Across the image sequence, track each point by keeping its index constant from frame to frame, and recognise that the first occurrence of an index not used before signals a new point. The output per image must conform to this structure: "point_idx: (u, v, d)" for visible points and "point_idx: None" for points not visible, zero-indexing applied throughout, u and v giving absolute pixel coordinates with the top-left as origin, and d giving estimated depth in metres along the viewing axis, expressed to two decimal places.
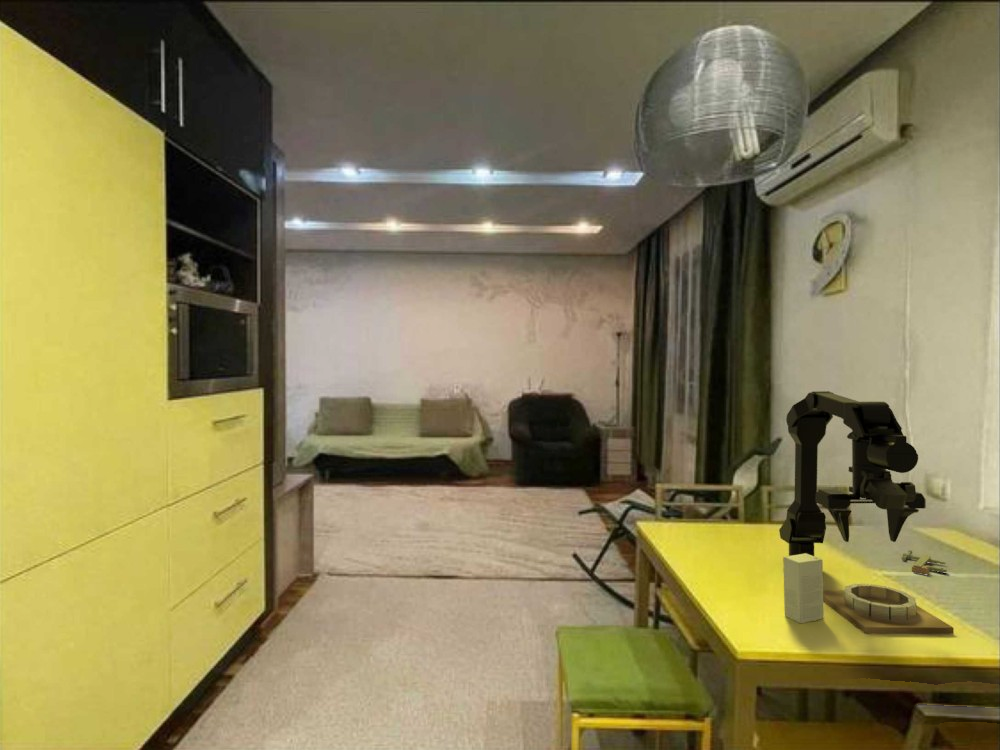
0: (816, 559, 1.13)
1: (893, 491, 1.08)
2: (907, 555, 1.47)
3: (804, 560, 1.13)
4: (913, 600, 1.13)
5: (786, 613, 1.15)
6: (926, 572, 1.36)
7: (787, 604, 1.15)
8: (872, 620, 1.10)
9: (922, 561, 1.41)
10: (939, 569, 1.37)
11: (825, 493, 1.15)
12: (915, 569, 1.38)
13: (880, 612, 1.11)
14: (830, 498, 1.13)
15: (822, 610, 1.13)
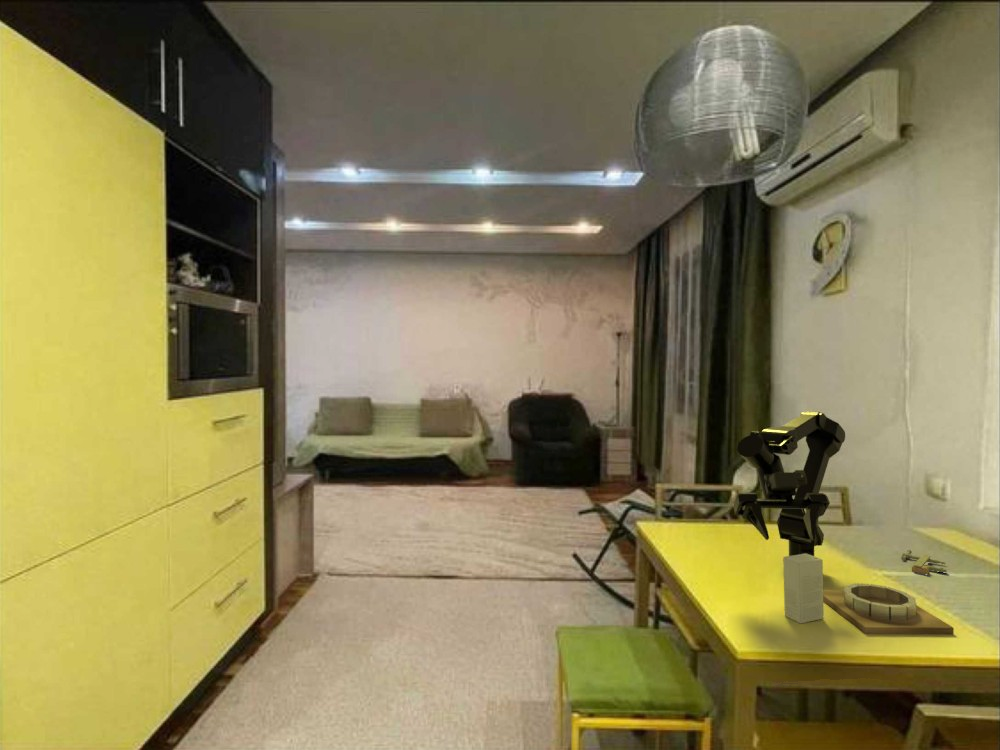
0: (816, 559, 1.13)
1: None
2: (906, 555, 1.47)
3: (804, 560, 1.13)
4: (913, 600, 1.13)
5: (786, 613, 1.15)
6: (926, 572, 1.36)
7: (787, 604, 1.15)
8: (872, 620, 1.10)
9: (922, 561, 1.41)
10: (939, 569, 1.37)
11: None
12: (915, 569, 1.38)
13: (880, 612, 1.11)
14: (739, 494, 1.27)
15: (822, 610, 1.13)
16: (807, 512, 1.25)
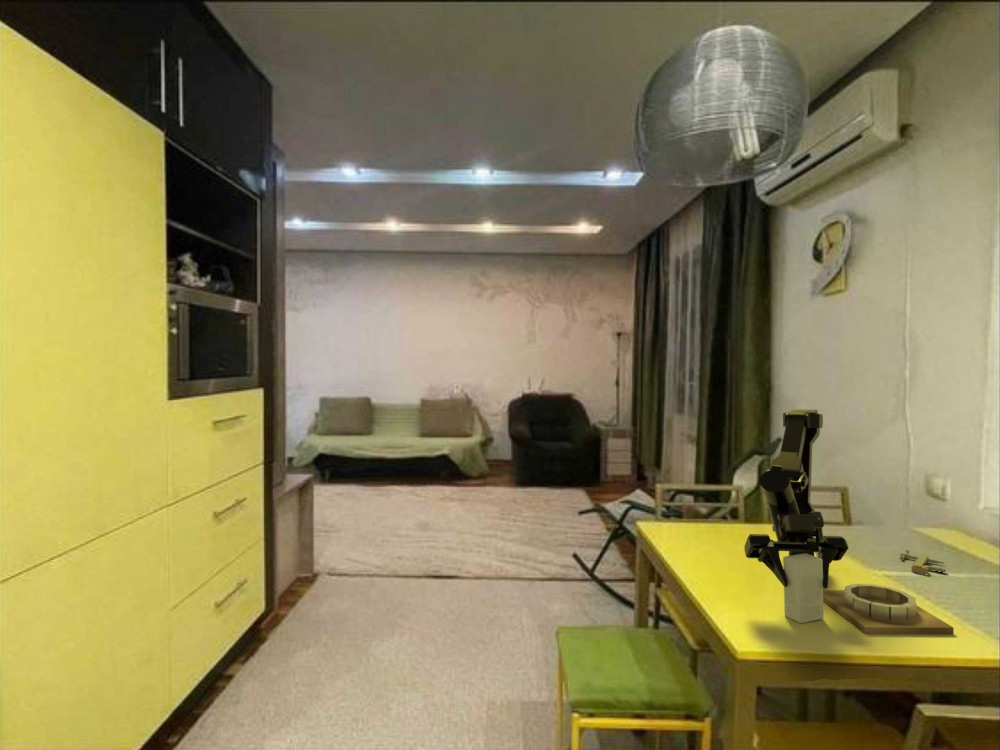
0: (816, 559, 1.13)
1: None
2: (905, 555, 1.48)
3: (804, 560, 1.13)
4: (913, 600, 1.13)
5: (786, 613, 1.15)
6: (926, 572, 1.36)
7: (787, 604, 1.15)
8: (872, 620, 1.10)
9: (921, 561, 1.41)
10: (938, 569, 1.37)
11: (748, 538, 1.21)
12: (915, 569, 1.38)
13: (880, 612, 1.11)
14: (750, 536, 1.19)
15: (822, 610, 1.13)
16: (819, 556, 1.17)
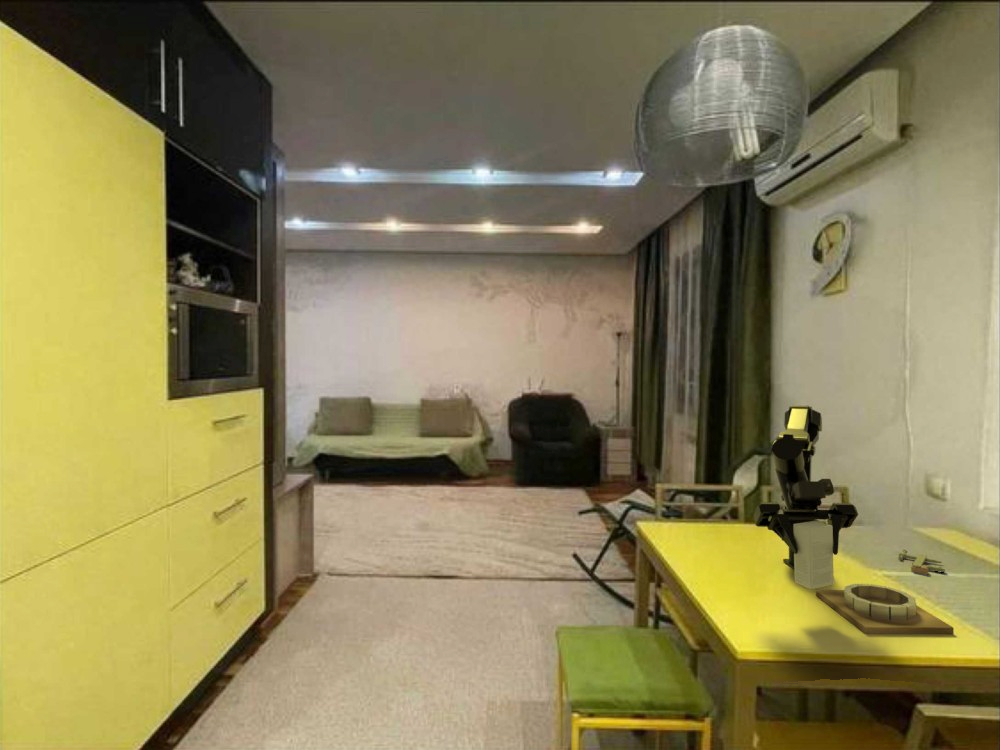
0: (826, 525, 1.14)
1: None
2: (903, 555, 1.48)
3: (814, 526, 1.13)
4: (913, 600, 1.13)
5: (796, 580, 1.15)
6: (926, 572, 1.36)
7: (797, 571, 1.15)
8: (872, 620, 1.10)
9: (920, 561, 1.41)
10: (937, 568, 1.38)
11: None
12: (914, 569, 1.38)
13: (880, 612, 1.11)
14: (760, 504, 1.19)
15: (832, 576, 1.14)
16: (829, 523, 1.17)
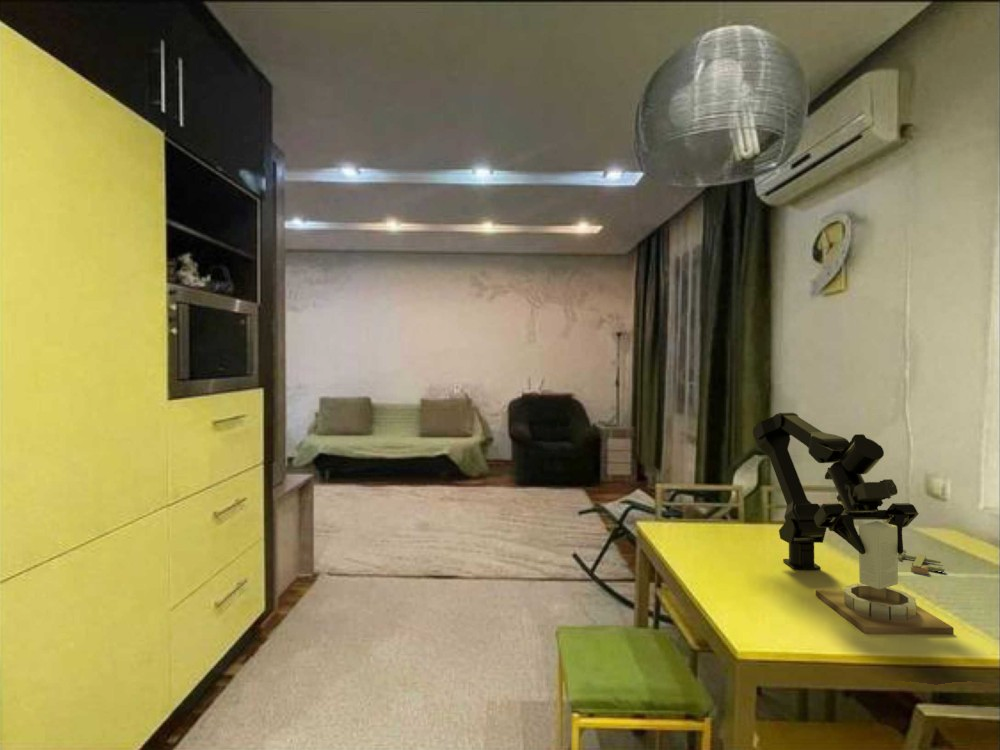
0: (891, 526, 1.15)
1: None
2: (902, 555, 1.48)
3: (881, 527, 1.14)
4: (913, 600, 1.13)
5: (861, 580, 1.16)
6: (926, 572, 1.36)
7: (863, 572, 1.16)
8: (872, 620, 1.10)
9: (919, 561, 1.41)
10: (937, 569, 1.38)
11: (819, 508, 1.21)
12: (914, 569, 1.38)
13: (880, 612, 1.11)
14: (824, 505, 1.19)
15: (897, 576, 1.15)
16: (890, 523, 1.18)
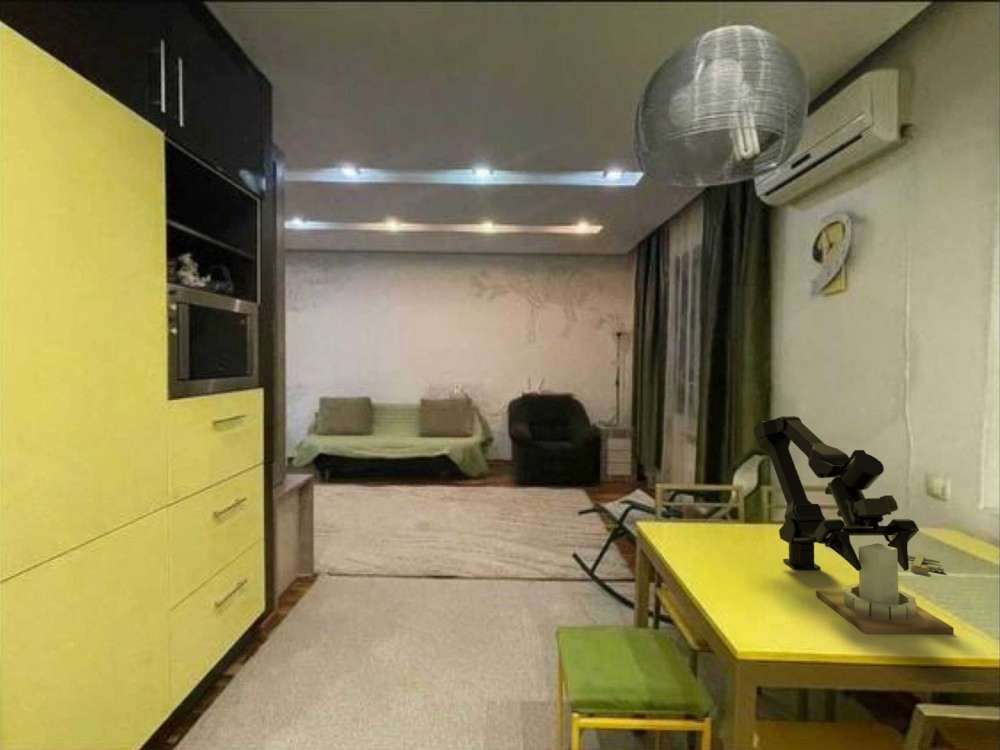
0: (891, 548, 1.15)
1: None
2: None
3: (881, 549, 1.14)
4: (913, 600, 1.13)
5: None
6: (925, 572, 1.36)
7: (863, 594, 1.16)
8: (872, 620, 1.10)
9: (919, 560, 1.41)
10: (937, 568, 1.38)
11: (820, 523, 1.21)
12: (914, 569, 1.38)
13: (880, 612, 1.11)
14: (824, 521, 1.19)
15: (897, 599, 1.15)
16: (895, 540, 1.18)
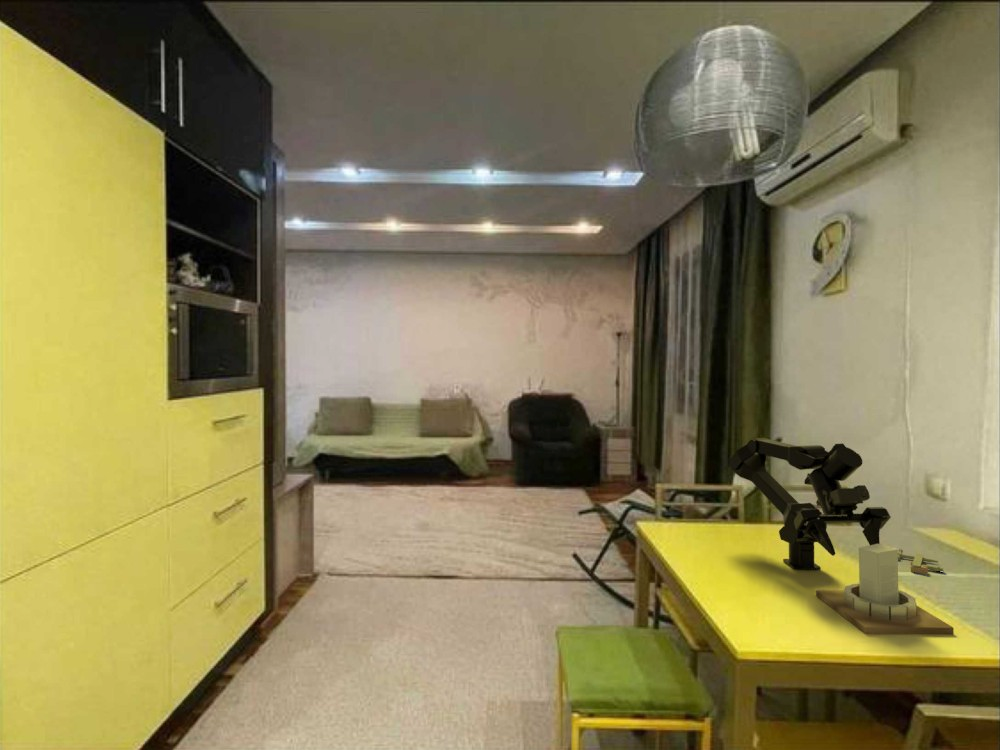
0: (892, 549, 1.15)
1: None
2: (900, 554, 1.48)
3: (881, 550, 1.14)
4: (913, 600, 1.13)
5: None
6: (925, 572, 1.36)
7: (863, 594, 1.16)
8: (872, 620, 1.10)
9: (918, 560, 1.41)
10: (936, 568, 1.38)
11: None
12: (914, 569, 1.38)
13: (880, 612, 1.11)
14: (801, 510, 1.28)
15: (897, 599, 1.15)
16: (868, 526, 1.27)
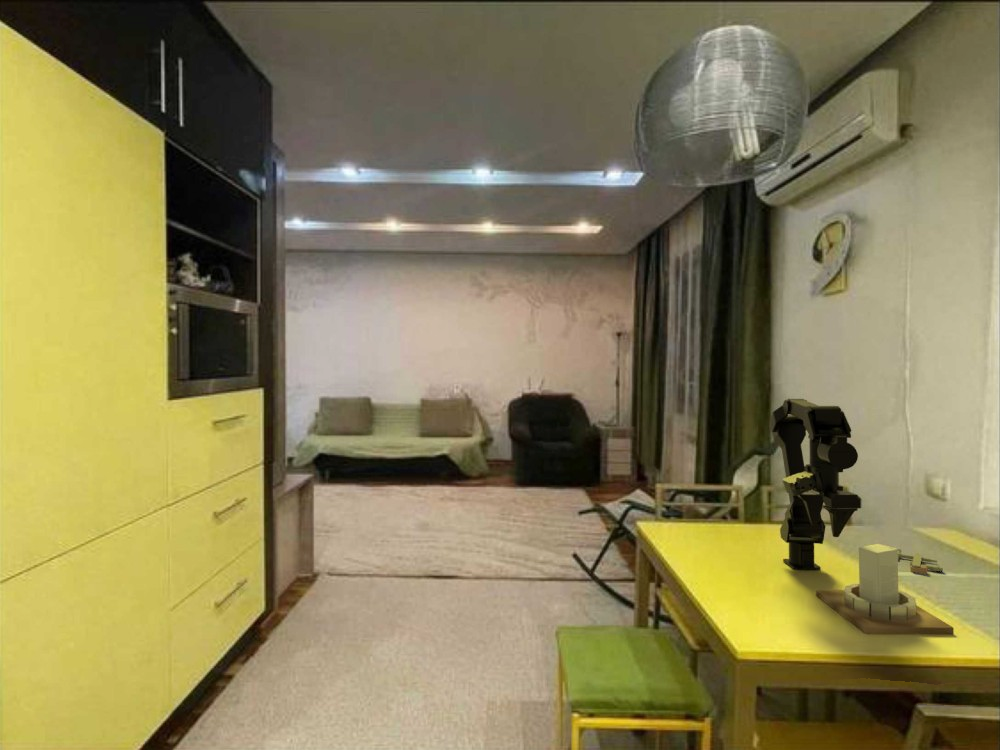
0: (892, 549, 1.15)
1: (791, 479, 1.29)
2: (899, 554, 1.48)
3: (881, 550, 1.14)
4: (913, 600, 1.13)
5: None
6: (925, 572, 1.36)
7: (863, 594, 1.16)
8: (872, 620, 1.10)
9: (918, 560, 1.41)
10: (936, 568, 1.38)
11: None
12: (914, 569, 1.38)
13: (880, 612, 1.11)
14: None
15: (897, 599, 1.15)
16: None
